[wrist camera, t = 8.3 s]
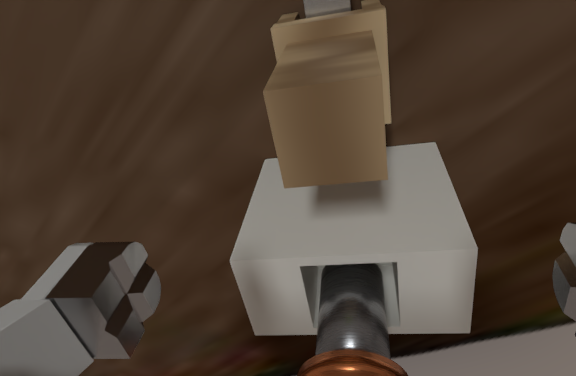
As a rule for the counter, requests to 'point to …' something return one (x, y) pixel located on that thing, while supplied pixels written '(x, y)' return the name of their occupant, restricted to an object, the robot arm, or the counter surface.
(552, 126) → the counter surface
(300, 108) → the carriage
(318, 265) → the housing
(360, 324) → the plunger
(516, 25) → the counter surface
